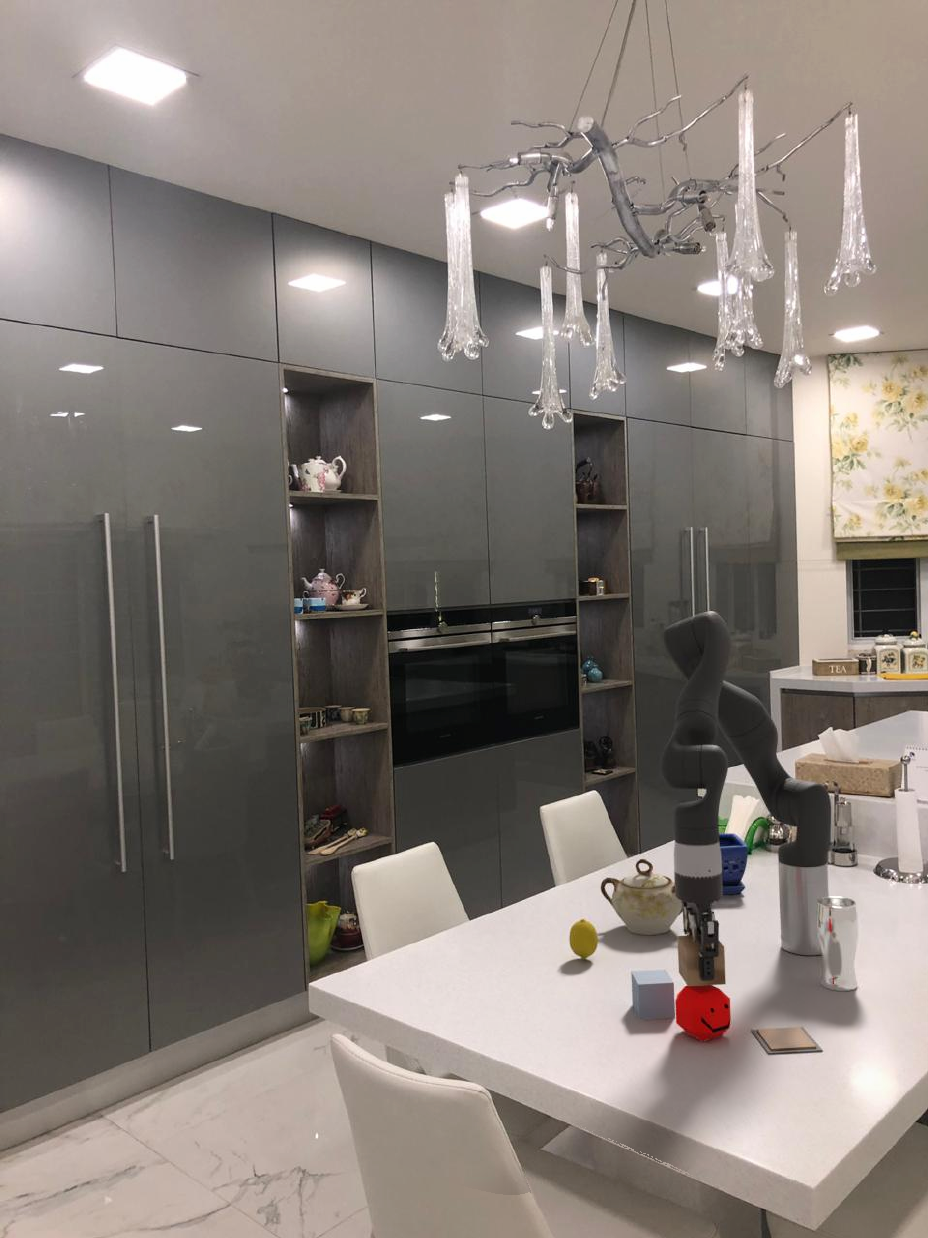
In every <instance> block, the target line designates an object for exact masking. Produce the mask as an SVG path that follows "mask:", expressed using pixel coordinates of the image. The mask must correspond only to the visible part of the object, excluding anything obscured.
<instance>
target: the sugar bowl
mask: <svg viewBox="0 0 928 1238" xmlns="http://www.w3.org/2000/svg"><path fill="white" fill-rule="evenodd" d="M640 864H645V865H647V866H648V869H647V870H641V868H640ZM635 869H636V873H633V874H631V875H628V876H626V877H624V878H622V879H621V880H619V879H617V878H613V877H606V878H604V879H603V880H602V882H601V884H600V890H601V891H600V892H601V893H602V896H603V897H604V898H605V899H606V900H607V901H608V902H609V903H610V905H611V907H612V908H613V909H614V911H615V913H616V915H617V916H618V917H619V918H620V920H621V921H622V922H623V923H624V924H625V926H626V928H627V929H628V931H629V932H630V933H634V934H636V935H641V936H643V935H644V936H655V935H656V936H657V935H661V934H664V933H666V932H668V931H669V930H670V928H671V927H672V926H673V924H674V922H675V921H676V920H677V918H678V917H679V916H680V915H681V914H683V911H682V902H681V900H679V899H678V898H677V897H676V896H675V881H673V879H671V877H668V876H665V875H661V874H659V873H656V872H653V870H654V866H653V864H652V863H651V862H650V861H648V860H647V859H645V858H641V859H639V860H637V861H636V863H635ZM607 884H611V885H613V891H612V893H611V894H612V895H611V896H610V895H609V894H608V892H607V891H606V885H607Z"/></svg>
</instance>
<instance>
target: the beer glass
mask: <svg viewBox="0 0 928 1238" xmlns="http://www.w3.org/2000/svg"><path fill="white" fill-rule="evenodd" d="M858 918H859V917H858V911H857V903H856V900H854V899H852V898H848V897H844V896H836V895H833V896H832V895H831V896H830V895H829V896H828V897H822V898H819V899H818V900H817V933H818V939H819V944H820V949H821V953H822V954H821V958H822V974H821V982H820V983H821V985H822V987H824V988H826V989H828V990H831V991H837V992H849V991H854V990H855V989H857V988H858V980H857V976H856V975H857V974H856V970H855V960H856V954H857V953H856V952H857V946H858V938H859V921H858Z"/></svg>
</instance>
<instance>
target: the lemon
mask: <svg viewBox="0 0 928 1238" xmlns="http://www.w3.org/2000/svg"><path fill="white" fill-rule="evenodd" d="M568 938H569V939H568V940H569V946H570V949H571V951H572V952H573V953H574V954H575V955H576V956H577V957H580V958H581V959H582V960H587V959H588V957H591V956H593V954H595V952H596V950H597V948H598V944H599V936H598V932H597V930H596V928H595V926H594V925H593V923H591V922H590V921H588V920H586V918H585V919H584V918H581V919H580V920H579V921H576V922H575V923H574V924H573V925H572V926H571V928H570V931H569V937H568Z"/></svg>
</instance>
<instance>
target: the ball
mask: <svg viewBox="0 0 928 1238" xmlns="http://www.w3.org/2000/svg"><path fill="white" fill-rule="evenodd" d="M674 1003H675V1023H676V1024H677V1025H678V1027H680V1028H681V1029H682V1030H683V1031H684V1032H685V1033H686V1034H689V1036H692V1037H694V1038H696V1039H697V1040H698V1041H701V1042H702V1043H703V1042H707V1041H710V1040H711V1039H717V1038H719V1037H722V1036H723V1035H724V1034H725V1033H726V1032H727V1031H729V1029H730V1027H731V1022H732V1021H731V1020H732V1019H731V999H730V997H729V996H727V995H726V993H725V992H723V990H721V989H720V988H719V987H717V986H716V985H703V986H688V985H687V984H686V985H685V986H684V987H683V988H682V989H681V990H680V991H679V992H678V993H677V994H676V998H675V1000H674Z"/></svg>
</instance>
